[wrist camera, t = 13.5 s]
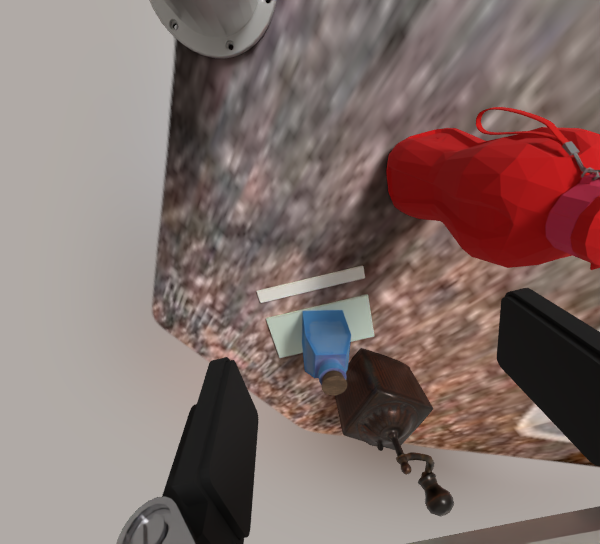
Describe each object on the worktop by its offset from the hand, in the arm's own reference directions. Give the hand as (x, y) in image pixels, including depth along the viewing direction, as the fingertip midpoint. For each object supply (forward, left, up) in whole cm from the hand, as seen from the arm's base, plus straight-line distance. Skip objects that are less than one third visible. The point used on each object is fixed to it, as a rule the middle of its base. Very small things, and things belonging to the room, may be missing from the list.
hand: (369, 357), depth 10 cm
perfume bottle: (+21, -2, -30) cm, 37 cm away
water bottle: (0, +15, -31) cm, 34 cm away
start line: (+13, -2, -30) cm, 33 cm away
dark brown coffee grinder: (+36, +6, -31) cm, 48 cm away
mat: (+21, -2, -30) cm, 37 cm away
